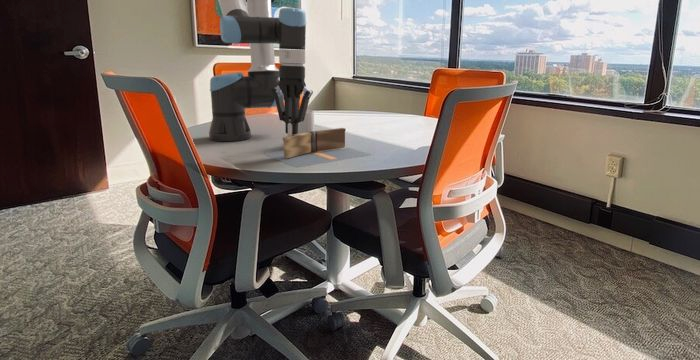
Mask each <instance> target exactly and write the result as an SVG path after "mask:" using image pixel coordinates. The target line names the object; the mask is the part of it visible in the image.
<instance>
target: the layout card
mask: <svg viewBox="0 0 700 360" xmlns="http://www.w3.org/2000/svg"><path fill="white" fill-rule="evenodd" d="M262 155H265V156H267V157H270V158H272V159H275V160H277V161H280V162H282V163H284V164H286V165H289V166H291V167H295V168H302V167H305V166H312V165H318V164H325V163H330V162H331V163H332V162H337V161H342V160H348V159H349V160H351V159H354V158H362V157H366V156H372V155H373V154H371V153H368V152H365V151H362V150H357V149H354V148H351V147H347V146H345V147H344V148H338V149H331V150H324V151H316V152H314V153H311V152H309V153H305V154H302V155H298V156H294V157H290V158H284V150H279V151H273V152H272V151H271V152H265V153H262Z"/></svg>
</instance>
